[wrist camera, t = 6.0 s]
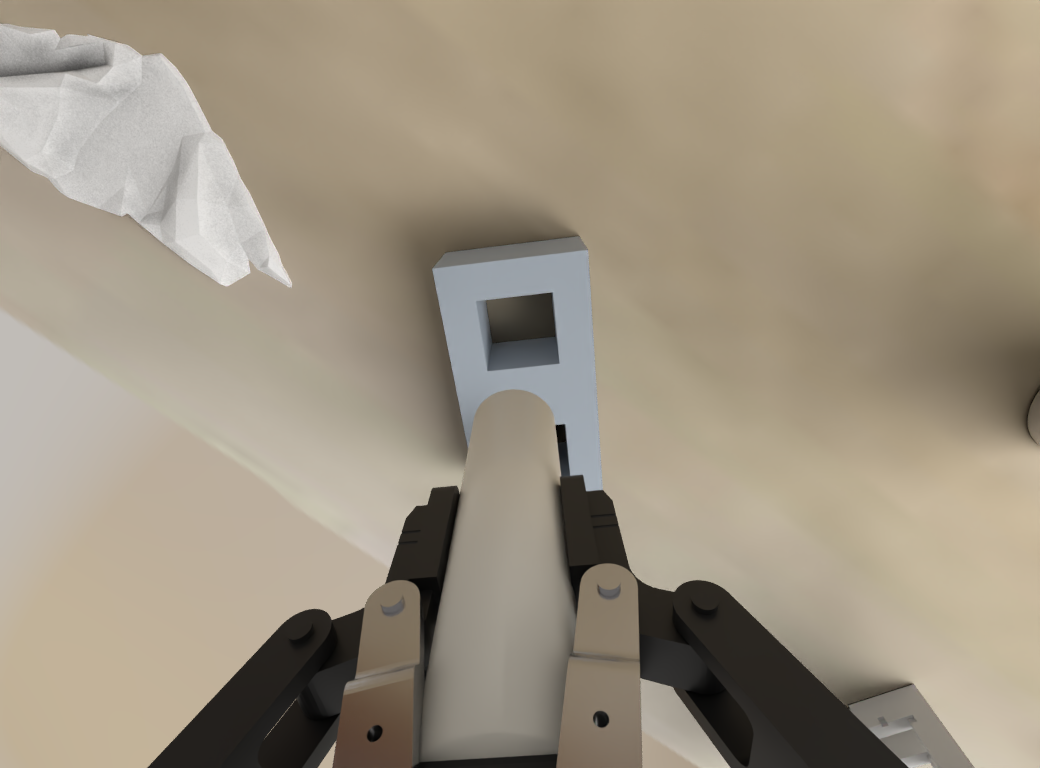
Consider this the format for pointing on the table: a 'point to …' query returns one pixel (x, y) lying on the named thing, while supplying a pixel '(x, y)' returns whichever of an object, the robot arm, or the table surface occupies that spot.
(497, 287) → the hole block
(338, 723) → the robot arm
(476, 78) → the table surface
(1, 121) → the cloth
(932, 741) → the toy
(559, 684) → the cream peg
